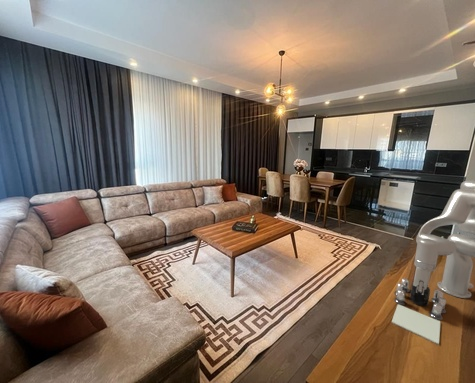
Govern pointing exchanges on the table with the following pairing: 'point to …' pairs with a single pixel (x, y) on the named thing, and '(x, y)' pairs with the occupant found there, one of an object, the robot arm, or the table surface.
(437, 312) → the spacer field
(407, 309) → the sage pad
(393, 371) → the table surface
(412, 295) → the supplement bottle
